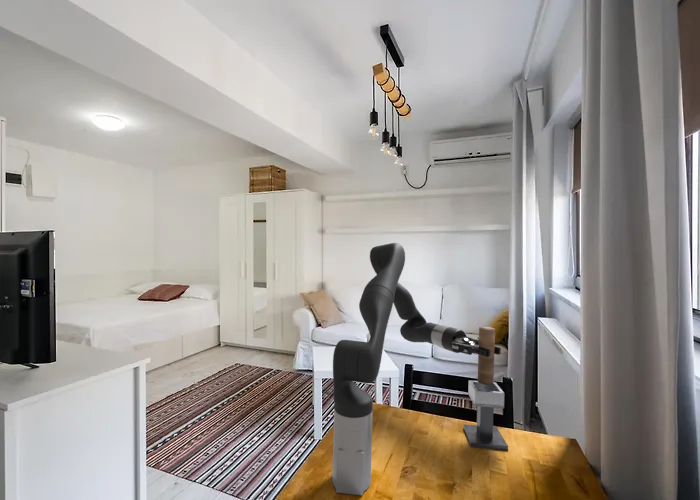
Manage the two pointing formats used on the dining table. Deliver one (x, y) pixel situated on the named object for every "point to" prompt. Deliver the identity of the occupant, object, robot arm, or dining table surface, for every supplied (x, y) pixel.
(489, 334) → the walnut rail post
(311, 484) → the dining table surface
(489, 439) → the stand
